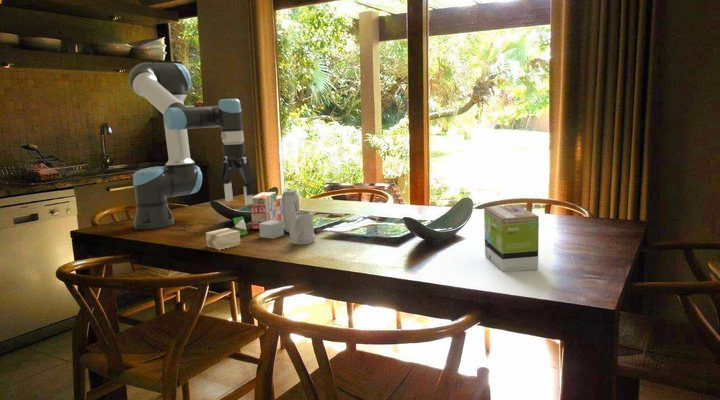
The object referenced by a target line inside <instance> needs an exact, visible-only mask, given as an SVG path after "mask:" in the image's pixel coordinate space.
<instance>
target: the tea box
mask: <svg viewBox="0 0 720 400" xmlns="http://www.w3.org/2000/svg"><path fill="white" fill-rule="evenodd" d="M483 209H484V210H483V211H484V212H483V213H484V214H483V218H484V219H483V220H484V221H483V222H484V256H485V257H486V258H487V259H488V260H489V261H490V262H491V263H493V264H494V265H495V266H496V267H497V268H498V269H499V270H500V271H501V272H502V273H510V272H511V273H512V272H523V271H524V272H525V271H535V270H538V269H539V230H540V229H539V225H540V222H539V221H540V220H539V215H537V214H535V213H534V212H531V211H530V210H527V209H525V208H523V207H521V206H520V205H518V204H513V205H502V206H501V205H499V206H490V207H489V206H487V207H486V206H485V207H484V208H483Z"/></svg>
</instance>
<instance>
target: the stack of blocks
mask: <svg viewBox="0 0 720 400" xmlns="http://www.w3.org/2000/svg"><path fill="white" fill-rule="evenodd" d="M277 194H278V193H277V191H265V192H264V191H263V192H260V193H258V194H256V195H254V196H253V195H252V199H253V204H250V205H249V206H250V207H249V208H250V216H251V226H252V228H251V229H252V230H260V229H259V224H260V223H263V222H266V221H269V220H274V221H280V220H281V221H283V220H284V218H283V204H282V194H281V195H277Z"/></svg>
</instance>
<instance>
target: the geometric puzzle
mask: <svg viewBox="0 0 720 400" xmlns="http://www.w3.org/2000/svg"><path fill="white" fill-rule="evenodd" d="M245 219H246V217H244V215H243V216H239V217H232V222H233V223H232V227H230V228H229V229H233V230H237V231H240V237H241V236H245V235H249V232H248V231H249V230H248V227H247V226H249V227H250V226H252V222H249V223H246V222H248V220H247V219H246V220H245Z"/></svg>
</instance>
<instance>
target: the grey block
mask: <svg viewBox="0 0 720 400" xmlns="http://www.w3.org/2000/svg"><path fill="white" fill-rule="evenodd" d="M258 230H259V237H260V238H263V239H264V238H265V239H276V238H279V237H282V236H285V229H284V220H281V221H274V220H269V221H266V222H263V223H260V224H259V229H258Z"/></svg>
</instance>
